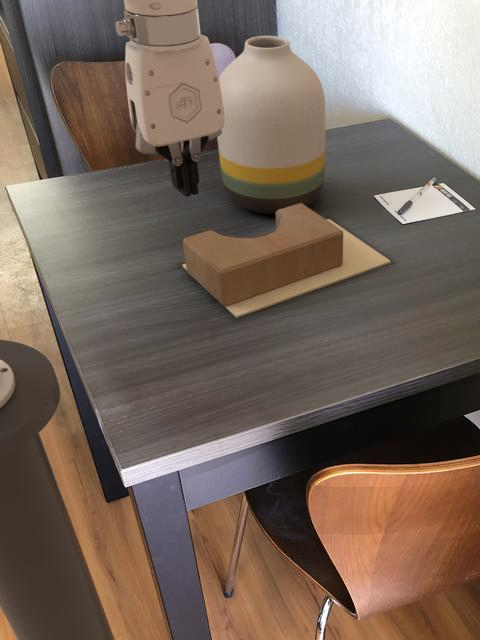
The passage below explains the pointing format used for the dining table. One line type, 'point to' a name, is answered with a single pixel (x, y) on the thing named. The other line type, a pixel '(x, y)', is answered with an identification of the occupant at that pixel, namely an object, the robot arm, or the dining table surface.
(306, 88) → the vase
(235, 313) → the felt mat
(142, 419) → the dining table surface
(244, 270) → the decorative block
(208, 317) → the dining table surface
